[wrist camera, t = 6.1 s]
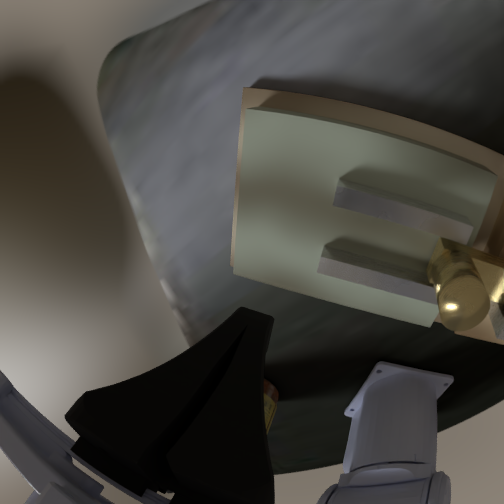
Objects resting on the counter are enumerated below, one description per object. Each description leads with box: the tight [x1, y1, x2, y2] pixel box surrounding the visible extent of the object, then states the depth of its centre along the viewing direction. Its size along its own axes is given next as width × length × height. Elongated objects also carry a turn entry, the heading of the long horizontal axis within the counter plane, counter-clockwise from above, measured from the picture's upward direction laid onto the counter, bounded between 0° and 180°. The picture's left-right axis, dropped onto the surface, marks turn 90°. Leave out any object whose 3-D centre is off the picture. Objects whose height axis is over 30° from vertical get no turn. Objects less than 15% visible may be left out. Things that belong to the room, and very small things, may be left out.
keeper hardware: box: [317, 178, 504, 340], centre depth 12 cm, size 5×17×3 cm, turn 85°
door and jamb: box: [230, 87, 504, 345], centre depth 15 cm, size 12×26×3 cm, turn 85°
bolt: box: [426, 237, 504, 331], centre depth 11 cm, size 2×8×4 cm, turn 85°
